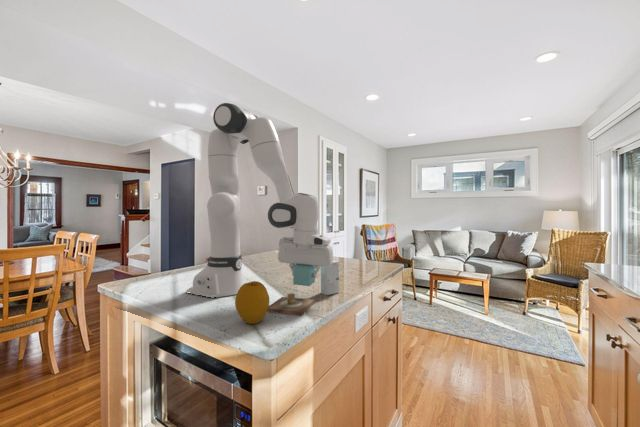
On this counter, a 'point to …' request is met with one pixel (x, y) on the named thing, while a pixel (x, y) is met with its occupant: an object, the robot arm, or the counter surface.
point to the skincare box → (330, 279)
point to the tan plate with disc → (291, 305)
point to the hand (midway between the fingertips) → (304, 276)
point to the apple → (252, 302)
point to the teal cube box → (303, 274)
